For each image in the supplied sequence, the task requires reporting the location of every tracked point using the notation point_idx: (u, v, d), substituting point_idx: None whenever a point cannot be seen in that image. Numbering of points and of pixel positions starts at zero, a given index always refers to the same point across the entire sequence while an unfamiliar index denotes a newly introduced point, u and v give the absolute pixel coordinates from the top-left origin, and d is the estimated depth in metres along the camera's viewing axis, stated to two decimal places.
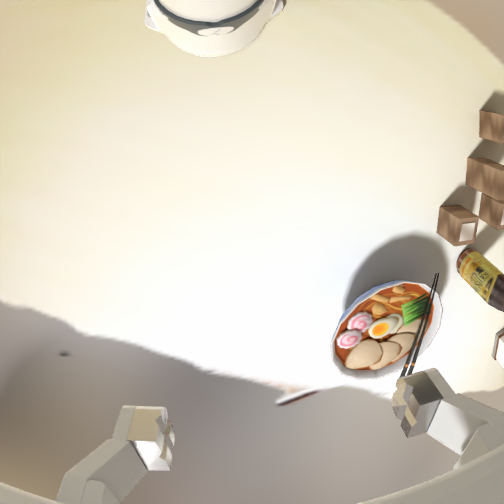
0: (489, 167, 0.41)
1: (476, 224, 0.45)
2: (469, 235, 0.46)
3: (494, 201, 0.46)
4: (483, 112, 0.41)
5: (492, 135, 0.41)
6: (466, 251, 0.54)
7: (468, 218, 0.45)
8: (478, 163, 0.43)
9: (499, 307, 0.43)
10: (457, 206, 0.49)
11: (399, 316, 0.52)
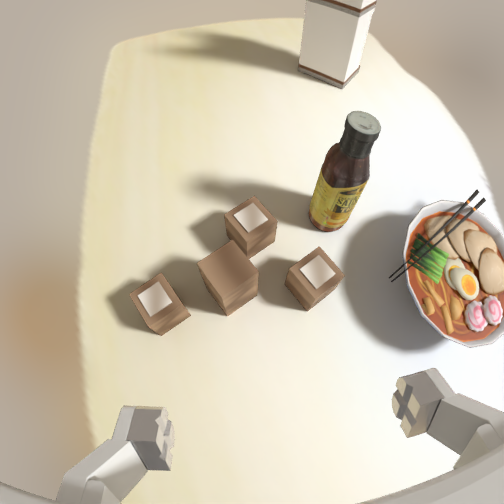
0: (225, 303, 0.38)
1: (299, 264, 0.40)
2: (318, 264, 0.40)
3: (248, 247, 0.43)
4: (160, 333, 0.41)
5: (179, 313, 0.39)
6: (320, 228, 0.48)
7: (303, 284, 0.39)
8: (227, 309, 0.40)
9: (368, 160, 0.36)
10: (289, 288, 0.44)
11: (446, 274, 0.39)
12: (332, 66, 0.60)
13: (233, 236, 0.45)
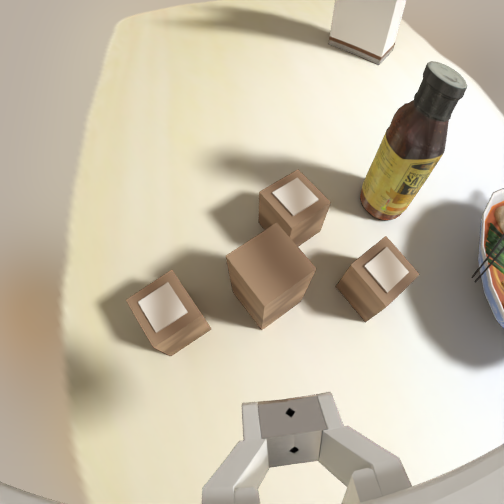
0: (265, 314, 0.26)
1: (363, 259, 0.28)
2: (388, 259, 0.28)
3: (291, 236, 0.31)
4: (170, 353, 0.29)
5: (197, 326, 0.28)
6: (376, 215, 0.36)
7: (370, 286, 0.27)
8: (265, 321, 0.29)
9: (447, 126, 0.25)
10: (343, 292, 0.33)
11: None
12: (368, 38, 0.48)
13: (269, 222, 0.34)
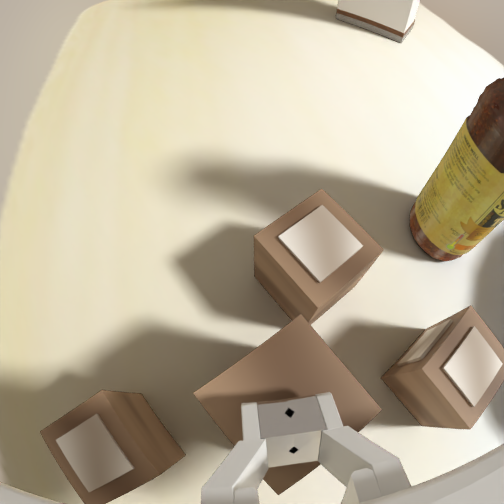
0: None
1: (441, 354, 0.14)
2: (476, 349, 0.14)
3: (314, 315, 0.17)
4: None
5: None
6: (436, 255, 0.22)
7: (450, 401, 0.13)
8: None
9: None
10: (392, 387, 0.18)
11: None
12: (387, 10, 0.35)
13: (273, 284, 0.20)
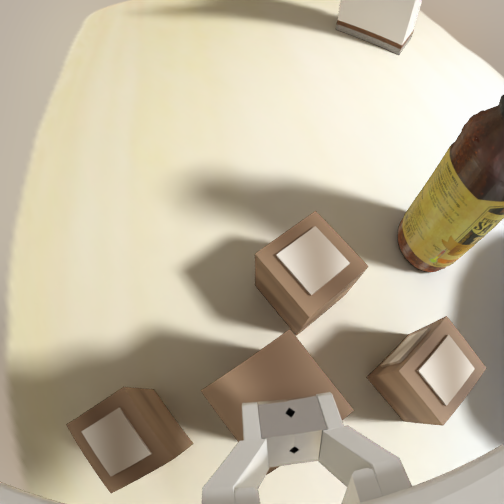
0: None
1: (417, 358, 0.17)
2: (449, 355, 0.16)
3: (306, 322, 0.20)
4: None
5: None
6: (420, 267, 0.24)
7: (424, 400, 0.16)
8: None
9: None
10: (377, 386, 0.21)
11: None
12: (386, 22, 0.37)
13: (271, 293, 0.22)
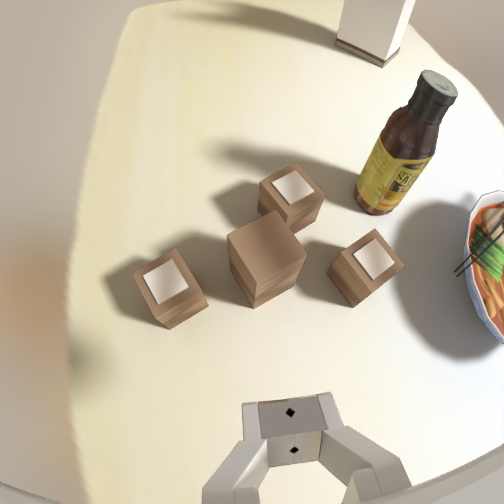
0: (257, 291, 0.29)
1: (352, 247, 0.31)
2: (375, 250, 0.31)
3: (287, 224, 0.34)
4: (169, 326, 0.32)
5: (196, 301, 0.31)
6: (368, 210, 0.39)
7: (358, 273, 0.30)
8: (257, 300, 0.31)
9: (438, 130, 0.27)
10: (333, 278, 0.35)
11: None
12: (374, 42, 0.50)
13: (267, 210, 0.36)
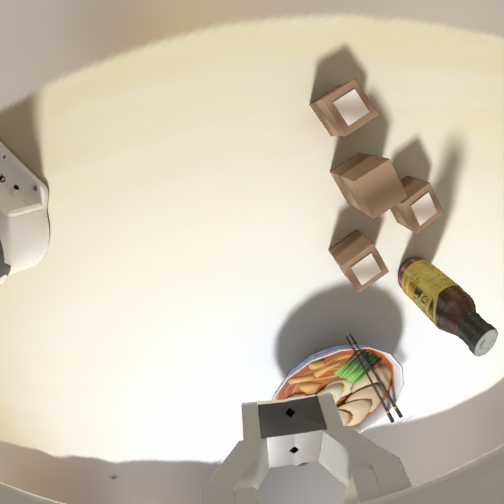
0: (346, 179, 0.35)
1: (375, 252, 0.39)
2: (372, 270, 0.40)
3: None
4: (312, 105, 0.37)
5: (335, 129, 0.36)
6: (402, 267, 0.46)
7: (356, 255, 0.39)
8: (338, 176, 0.38)
9: (454, 334, 0.35)
10: (352, 234, 0.44)
11: (340, 381, 0.46)
12: None
13: (407, 185, 0.40)
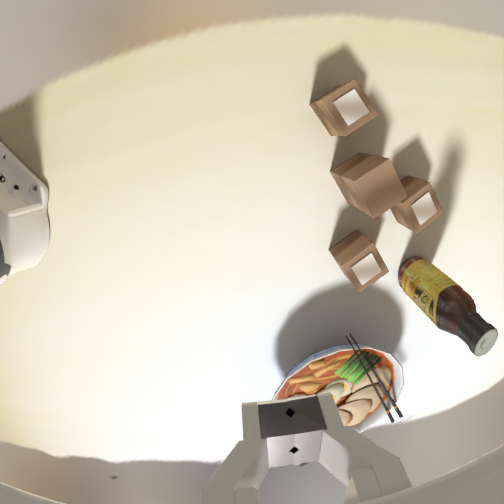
0: (346, 179, 0.35)
1: (375, 252, 0.39)
2: (372, 270, 0.40)
3: None
4: (312, 105, 0.37)
5: (335, 129, 0.36)
6: (403, 267, 0.46)
7: (356, 255, 0.39)
8: (338, 176, 0.38)
9: (454, 334, 0.35)
10: (352, 234, 0.44)
11: (340, 381, 0.46)
12: None
13: (407, 185, 0.40)
